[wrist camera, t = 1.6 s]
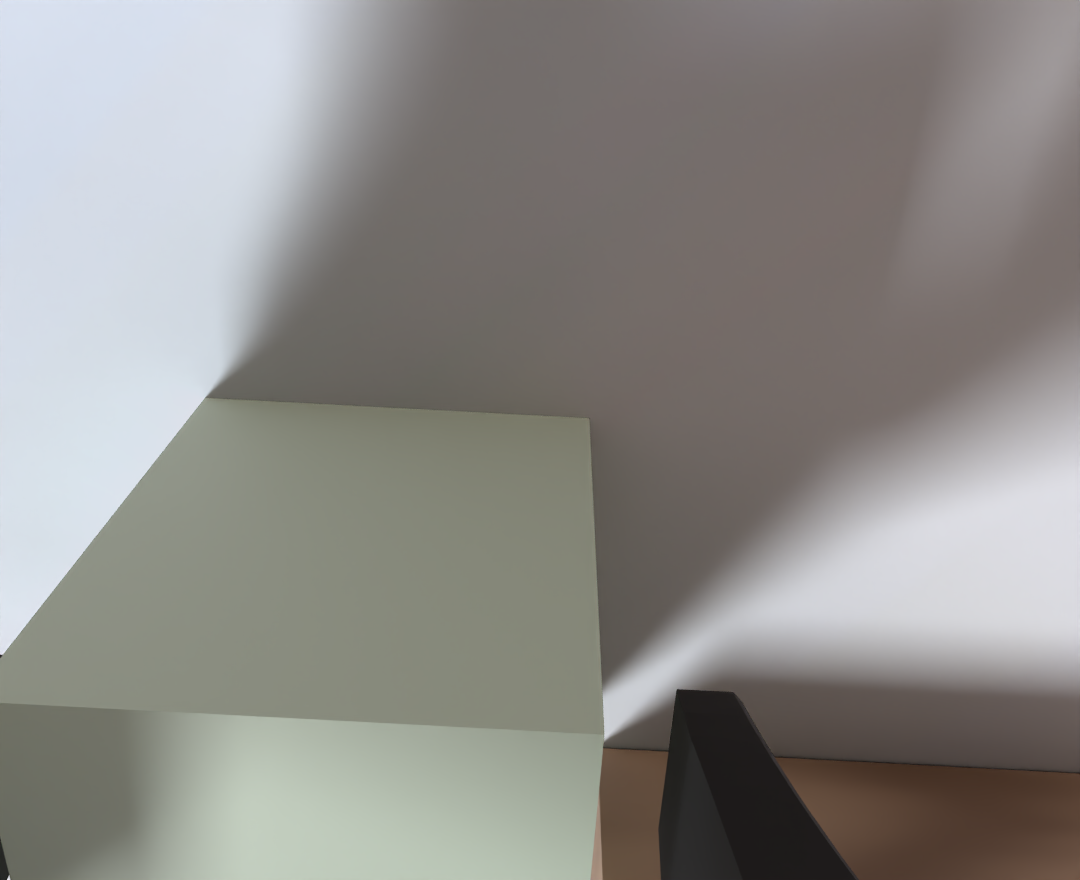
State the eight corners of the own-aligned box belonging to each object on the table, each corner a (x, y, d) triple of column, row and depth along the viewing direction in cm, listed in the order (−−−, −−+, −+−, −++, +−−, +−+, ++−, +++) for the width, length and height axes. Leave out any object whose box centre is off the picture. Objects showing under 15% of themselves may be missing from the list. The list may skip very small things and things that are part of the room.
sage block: (589, 416, 14) (603, 735, 8) (567, 716, 16) (567, 1124, 10) (206, 396, 14) (-34, 700, 8) (237, 699, 16) (64, 1098, 10)
